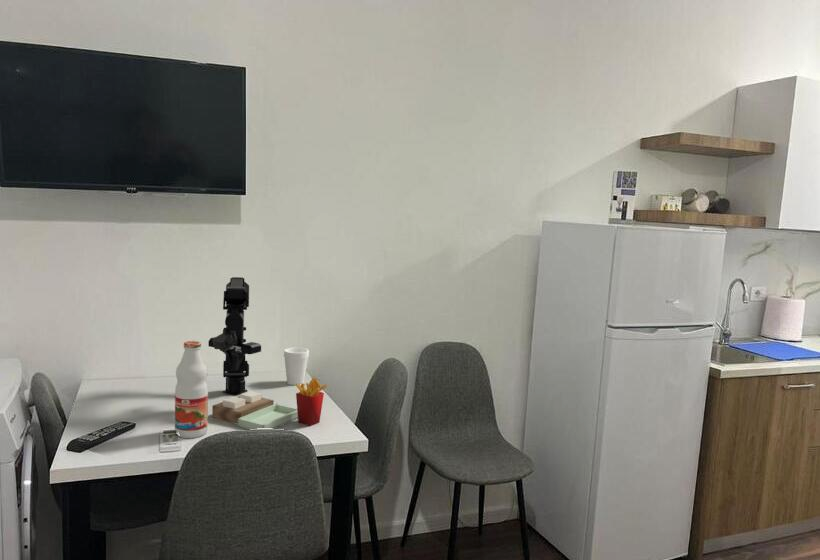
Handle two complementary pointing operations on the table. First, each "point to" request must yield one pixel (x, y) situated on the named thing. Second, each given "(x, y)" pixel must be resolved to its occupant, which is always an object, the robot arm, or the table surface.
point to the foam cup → (296, 364)
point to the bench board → (239, 410)
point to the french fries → (309, 402)
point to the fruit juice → (191, 393)
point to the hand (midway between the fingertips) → (234, 369)
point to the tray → (269, 417)
